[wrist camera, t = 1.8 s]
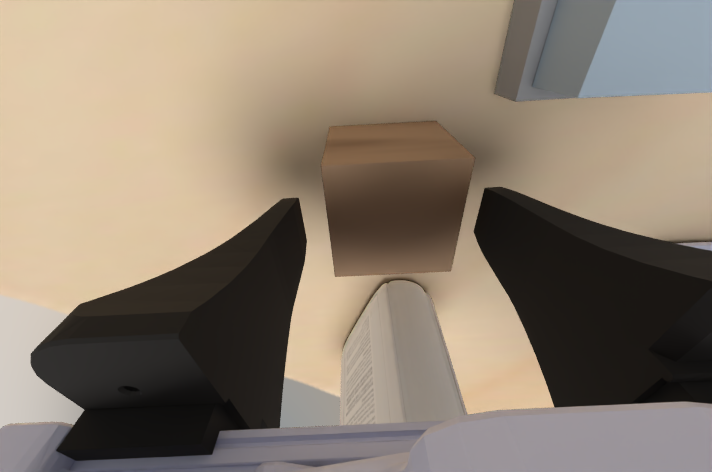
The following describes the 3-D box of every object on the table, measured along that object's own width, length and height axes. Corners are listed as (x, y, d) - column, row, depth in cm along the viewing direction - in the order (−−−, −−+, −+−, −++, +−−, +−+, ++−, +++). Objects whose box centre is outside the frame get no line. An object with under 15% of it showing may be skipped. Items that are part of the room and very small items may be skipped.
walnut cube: (425, 211, 16) (450, 271, 12) (338, 216, 16) (335, 276, 12) (435, 120, 13) (475, 158, 9) (329, 126, 13) (320, 166, 9)
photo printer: (380, 360, 25) (401, 577, 15) (335, 352, 24) (325, 577, 14) (437, 285, 19) (532, 552, 9) (381, 270, 18) (419, 550, 8)
